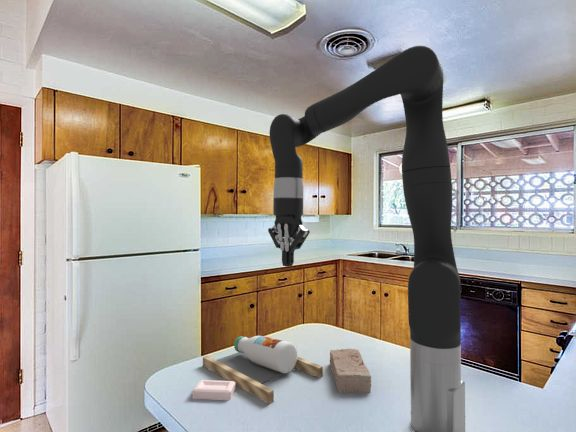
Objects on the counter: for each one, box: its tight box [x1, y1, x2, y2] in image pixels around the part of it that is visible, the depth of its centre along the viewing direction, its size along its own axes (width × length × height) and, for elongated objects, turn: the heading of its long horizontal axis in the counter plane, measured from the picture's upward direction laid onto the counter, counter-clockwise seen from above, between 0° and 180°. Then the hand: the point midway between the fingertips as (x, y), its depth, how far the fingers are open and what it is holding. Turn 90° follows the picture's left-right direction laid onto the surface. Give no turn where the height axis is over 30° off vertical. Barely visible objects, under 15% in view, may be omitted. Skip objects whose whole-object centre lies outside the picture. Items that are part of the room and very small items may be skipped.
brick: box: [329, 348, 372, 394], centre depth 90 cm, size 17×8×5 cm, turn 0°
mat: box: [216, 352, 297, 385], centre depth 96 cm, size 20×15×1 cm
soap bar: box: [191, 379, 236, 401], centre depth 82 cm, size 5×9×2 cm, turn 85°
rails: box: [202, 355, 324, 405], centre depth 93 cm, size 28×19×2 cm
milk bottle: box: [233, 335, 298, 374], centre depth 97 cm, size 8×8×20 cm
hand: (287, 265), depth 86 cm, fingers closed
